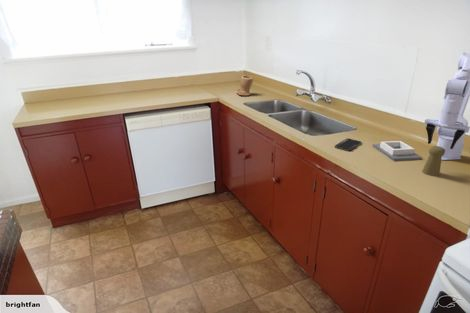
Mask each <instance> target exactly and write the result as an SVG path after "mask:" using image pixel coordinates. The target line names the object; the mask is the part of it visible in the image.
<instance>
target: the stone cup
mask: <svg viewBox="0 0 470 313" xmlns="http://www.w3.org/2000/svg"><path fill="white" fill-rule="evenodd" d="M253 81H254V78H253V77H252V76H249V75H241V77H240V88H237V89H236V90H235V92H236V93H237V94H238V95H240V96H244V97H246V96H250V95H251V92H250V90H251V87H252V85H253Z"/></svg>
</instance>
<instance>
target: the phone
mask: <svg viewBox="0 0 470 313" xmlns="http://www.w3.org/2000/svg"><path fill="white" fill-rule="evenodd" d="M362 143H363V141H360V140H357V139H353V138H345V139H344V140H342V141H340V142H339V143H337V144H335V145H334V148H335V149H338V150H340V151H341V150H342V151H344V152H352V151H354V149H356V148H357V147H359V146H361V145H362Z"/></svg>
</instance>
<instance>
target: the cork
mask: <svg viewBox="0 0 470 313" xmlns="http://www.w3.org/2000/svg"><path fill="white" fill-rule="evenodd" d="M428 153H429V154H428V157H427V159H426V160H425V164H424V166H423V169H422V170H421V172H422V174H425V175H427V176H430V177H439V176H440V174H441V173H440V172H441V167H442V166H441V164H442V160H441V159H442V156H443V155H444V153H445V149H444V148H442V147H439V146H437V145H432V146H430V147H429V149H428Z"/></svg>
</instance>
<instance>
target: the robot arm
mask: <svg viewBox="0 0 470 313" xmlns="http://www.w3.org/2000/svg"><path fill="white" fill-rule="evenodd" d="M443 99H444V100H443V103H442V108H441V110H440V111H441V112H440V114H439V119H438V120H437V119H431V118H426V119H424V123H423V125H425V130H426V133H427V144H428V145H430V144H431V143H432V142H433V136H434V134H435V133H434V132H435V130H436V134H437V136H438V139H437V144H436V146H439V147H442V148H444V149H445V153H444V155H443V156H442V159H441V161H452V160H453V161H454V160H462V157H461V155H462V153H463V150H464V147H465V142H464V137H465V135H466V133H467V134H468V133H469V132H470V126H469V123H468V120H467V119H466V118H465V117H464V114H465V111H466V108H467V105H468V102H469V100H470V52H464V51H463V52H462V53H461V54H460V56H459V60H458V62H457V71H456V72H455V74H454V76H453V77H452V79H448V81H447V83H446V85H445V89H444V96H443ZM436 127H437V128H436Z"/></svg>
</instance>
